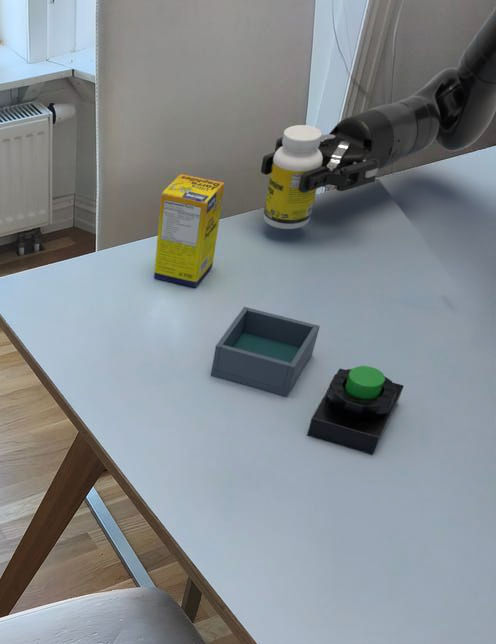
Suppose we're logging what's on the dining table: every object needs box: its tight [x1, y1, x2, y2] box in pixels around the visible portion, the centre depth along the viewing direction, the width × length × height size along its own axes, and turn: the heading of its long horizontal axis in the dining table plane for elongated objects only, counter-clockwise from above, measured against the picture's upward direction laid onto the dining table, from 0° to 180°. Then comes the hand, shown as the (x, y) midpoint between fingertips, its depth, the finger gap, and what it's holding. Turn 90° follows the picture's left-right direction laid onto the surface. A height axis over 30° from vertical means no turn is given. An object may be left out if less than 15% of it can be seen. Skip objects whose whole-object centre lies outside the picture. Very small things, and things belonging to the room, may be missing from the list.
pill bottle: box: [263, 124, 323, 230], centre depth 115 cm, size 6×6×11 cm
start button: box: [345, 365, 386, 399], centre depth 91 cm, size 4×4×2 cm
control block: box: [306, 368, 404, 455], centre depth 93 cm, size 7×10×4 cm
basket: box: [210, 306, 321, 397], centre depth 100 cm, size 9×9×4 cm
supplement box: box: [153, 173, 225, 288], centre depth 110 cm, size 6×6×11 cm
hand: (282, 174), depth 113 cm, fingers closed on pill bottle, 6 cm apart
